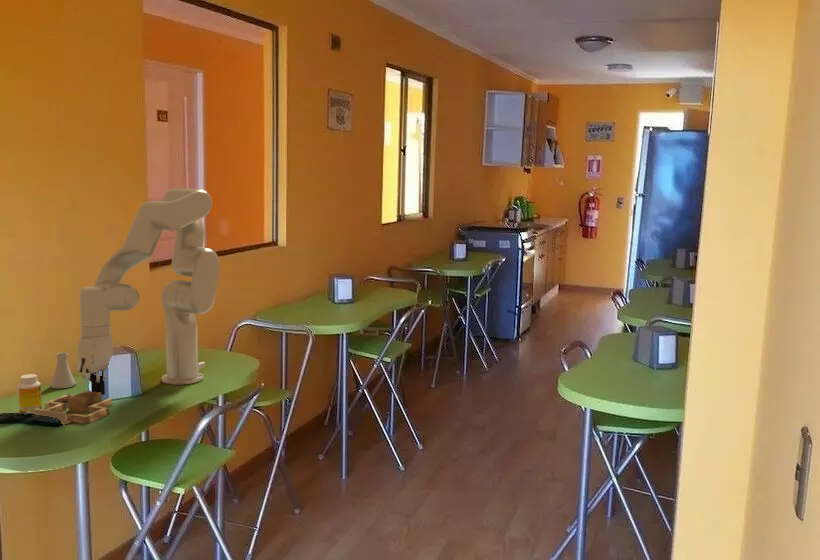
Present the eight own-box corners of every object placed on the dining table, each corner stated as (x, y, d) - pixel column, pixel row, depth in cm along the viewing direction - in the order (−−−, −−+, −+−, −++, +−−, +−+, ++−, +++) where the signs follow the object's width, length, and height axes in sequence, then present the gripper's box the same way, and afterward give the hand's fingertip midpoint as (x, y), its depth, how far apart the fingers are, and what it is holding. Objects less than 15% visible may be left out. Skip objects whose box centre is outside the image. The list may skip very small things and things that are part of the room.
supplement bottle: (44, 413, 198) (42, 376, 197) (21, 417, 195) (19, 380, 193) (39, 408, 202) (37, 372, 201) (16, 412, 199) (14, 375, 197)
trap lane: (70, 399, 211) (69, 389, 210) (126, 407, 205) (126, 396, 205) (18, 418, 194) (18, 407, 193) (78, 427, 188) (78, 416, 187)
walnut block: (87, 404, 207) (86, 390, 207) (101, 406, 206) (101, 392, 205) (68, 411, 201) (68, 397, 200) (83, 414, 199) (83, 399, 199)
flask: (49, 390, 219) (47, 357, 218) (51, 383, 226) (49, 352, 225) (75, 388, 222) (74, 355, 221) (77, 381, 229) (75, 350, 227)
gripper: (103, 324, 214) (105, 386, 216) (64, 334, 199) (67, 400, 202) (125, 327, 211) (127, 389, 214) (87, 337, 197) (89, 403, 200)
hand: (98, 394), depth 208 cm, fingers closed
